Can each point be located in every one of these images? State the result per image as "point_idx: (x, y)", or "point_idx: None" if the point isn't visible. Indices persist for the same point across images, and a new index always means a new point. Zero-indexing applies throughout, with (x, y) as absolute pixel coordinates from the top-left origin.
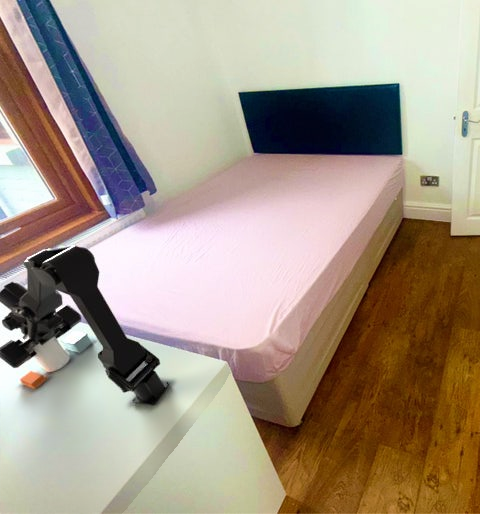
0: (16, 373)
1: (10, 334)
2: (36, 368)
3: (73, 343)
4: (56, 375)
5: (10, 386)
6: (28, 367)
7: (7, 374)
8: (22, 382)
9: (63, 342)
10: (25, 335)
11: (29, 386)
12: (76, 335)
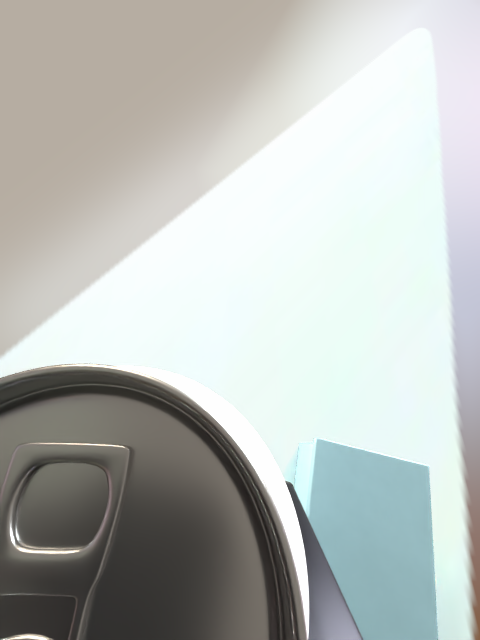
0: (149, 281)
1: (340, 101)
2: (169, 359)
3: None
4: None
5: (70, 322)
6: (180, 308)
7: (149, 246)
8: None
9: (311, 466)
10: (51, 380)
11: None
12: (393, 557)
